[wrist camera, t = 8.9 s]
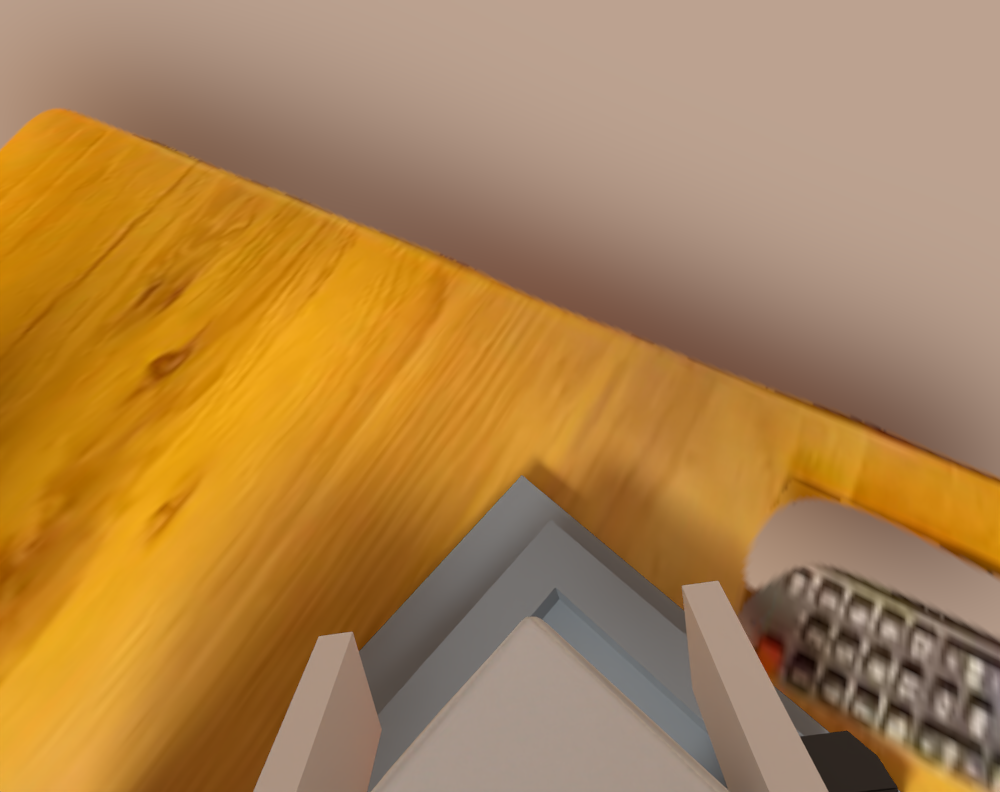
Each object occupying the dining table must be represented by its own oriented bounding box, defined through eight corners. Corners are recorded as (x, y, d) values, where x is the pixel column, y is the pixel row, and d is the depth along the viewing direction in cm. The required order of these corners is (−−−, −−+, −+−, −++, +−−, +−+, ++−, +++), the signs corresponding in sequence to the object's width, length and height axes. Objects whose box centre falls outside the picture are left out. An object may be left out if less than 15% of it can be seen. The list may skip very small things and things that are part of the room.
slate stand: (288, 740, 29) (242, 744, 25) (524, 482, 33) (514, 453, 29) (648, 1211, 21) (658, 1317, 18) (902, 801, 25) (955, 816, 21)
